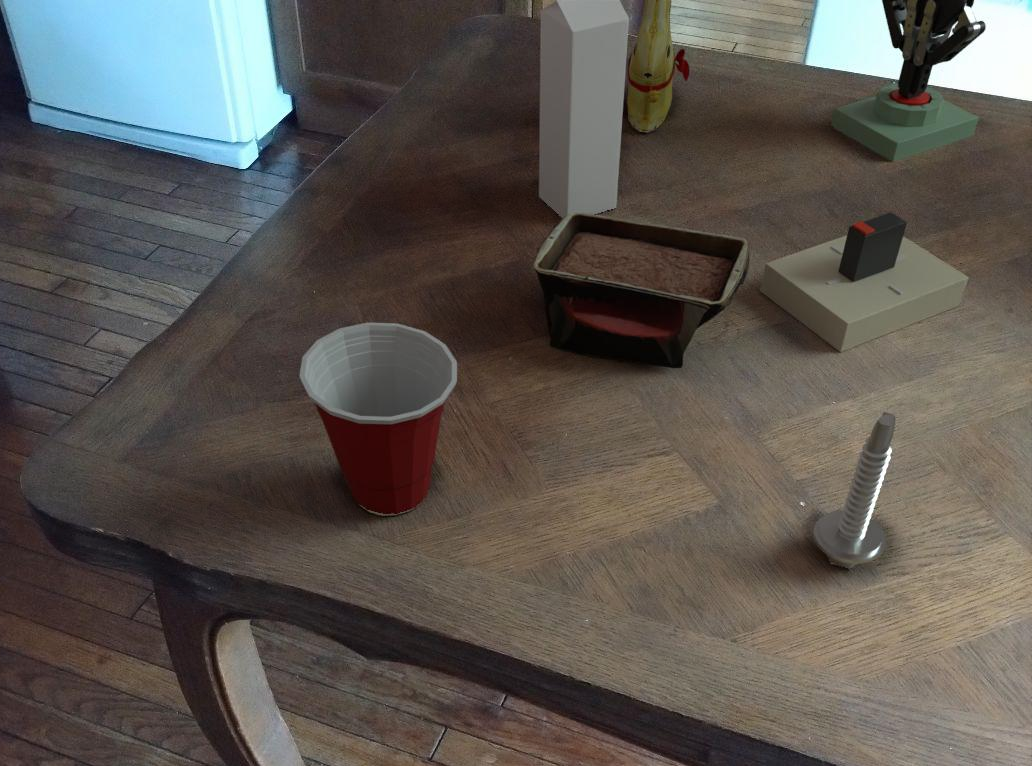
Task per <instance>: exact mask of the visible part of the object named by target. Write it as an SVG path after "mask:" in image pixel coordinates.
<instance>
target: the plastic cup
mask: <svg viewBox="0 0 1032 766" xmlns="http://www.w3.org/2000/svg"><path fill="white" fill-rule="evenodd" d="M299 380H300V381H301V383H302V385H303V387H304V389H305V392H306V393H307V395H308V398H309V400H311V402H313V403H314V405H315V407H316V410H317V413H318V415H319V417H320V418H321V422H322V423H323V426H324V429H325V431H326V434H327V436H328V440H329V441H330V444H331V447H332V449H333V452H334V456H335V458H336V460H337V463H338V466H339V468H340V470H341V472H342V474H343V476H344V478H345V481H346V482H347V486H348V488H349V491H350V493H351V495H352V497H353V499H354V501H355V502H356V503H357V502H358V503H359V504H360V505H362V506H363V507H365V508H366V509H367V510H371V511H374V512H378V513H383V514H391V513H394V514H398V513H400V512H404V511H407V510H410V509H412V508H414V507H416V506H417V505H418V504H420V503H421V502H422V501H423V499H424V498H425V499H426V497H427V496H428V491H429V490H430V488H431V487H430V486H431V478H432V477H431V476H432V470H433V469H432V467H433V465H434V464H435V457H436V451H437V443H438V438H439V432H440V425H441V417H442V413H443V411H444V407H445V403H446V401H447V400H448V397H449V396H450V394H451V393H452V392H453V390H454V388H455V387H456V385H457V383H458V362H457V360H456V358H455V356H454V355H453V354H452V352H451V350H450V349H449V348H448V346H447V344H445V343H444V342H442V341H440V340H439V339H438V338H436V337H435V336H433V335H431V334H430V333H428V332H427V331H425V330H422V329H420V328H419V329H418V328H415V327H411V326H408V325H405V324H401V323H394V322H393V323H390V322H365V323H360V324H354V325H350V326H349V325H348V326H344V327H340V328H338V329H336V330H334V331H332V332H330V333H328V334H326V335H324V336H322V337H319V338H318V339H317V340H316V341H314V343H313V344H312V345H311V347H310V348H309V349H308V350H307V351H306V352H305V354H304V355H303V356H302V358H301V364H300V369H299ZM426 495H427V496H426ZM425 496H426V497H425ZM425 499H424V500H425ZM423 502H424V501H423ZM423 502H422V503H423ZM358 503H357V504H358ZM416 508H417V507H416Z"/></svg>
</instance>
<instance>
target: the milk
mask: <svg viewBox="0 0 1032 766" xmlns="http://www.w3.org/2000/svg"><path fill="white" fill-rule="evenodd" d="M629 22H630V17H629V16H628V14H627V12H626V10H625V8H624V6H623V4H622V3H621V0H555V1H553V2H551V3H550V4H548V5H547V6H544V7H543V8H541V9H540V39H539V40H540V41H539V42H540V45H539V46H540V48H539V49H540V50H539V57H540V58H539V145H538V146H539V150H538V151H539V152H538V153H539V154H538V155H539V156H538V157H539V159H538V162H539V163H538V166H539V167H538V198H539V197H540V198H541V199H542V200H543V201H544V202H545V203H546V204H547V205H546V204H545V203H544V202H543V201H542V200H541V199H540V198H539V199H540V200H541V201H542V202H543V203H544V204H545V205H546V206H547V207H549V206H550V207H551V208H552V209H553V210H554V211H555V212H556V213H557V214H559V215H558V217H560V216H561V217H562V218H564V217H566V216H568V215H569V214H574V213H588V214H596V215H599V214H602V213H601V212H603V213H606V212H608V211H607V210H610V211H612V210H611V209H613V210H615V209H614V208H616V209H617V204H618V203H617V201H618V187H619V186H618V185H619V173H620V171H619V170H620V159H621V158H620V156H621V144H622V142H621V141H622V127H623V126H622V125H623V112H624V99H625V98H624V97H625V85H626V68H627V67H626V66H627V52H628V38H629V24H630V23H629ZM550 207H549V208H550ZM551 208H550V209H551ZM552 209H551V210H552ZM553 210H552V211H553ZM554 211H553V212H554ZM605 211H606V212H605ZM555 212H554V213H555ZM556 213H555V214H556ZM598 213H599V214H598ZM557 214H556V215H557ZM561 217H560V218H561ZM562 218H561V219H562Z"/></svg>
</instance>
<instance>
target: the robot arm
mask: <svg viewBox="0 0 1032 766" xmlns="http://www.w3.org/2000/svg"><path fill="white" fill-rule="evenodd" d="M881 2H882V8H883V11H884V15H885V19H886V24H887V29H888V33H889V37H890V42H891V46H892V48H894V49H895V50H896V49H898V50H899V51H900V52H901V55H902V59H903V62H902V65H901V69H900V73H899V77H898V80H897V84H898V88H899V91H898V93H899V94H900V95H902V96H904V97H906V98H908V99H911V98H915V97H918V96H920V95H921V94H922V93H924V91H925V90H926V88H927V87H928V83H929V80H930V77H931V72H932V69H933V66H936V65H938V64H941V63H947V62H950V61H952V60H953V59H954V58H955V57H956V56H958V55H959V54H960V53H961V52H962V51H964V50H965V49H966V48H967V47H968V46H969V45H971V44H972V43H973V42H974V41H975V40H976V39H978V38H979V37H980V36H981V35H983V34H984V32H985V31H986V27H987V24H986V23H985V21H984V20H978V21H977V19H976V16H975V14H974V12H973V9H972V7H973V6H974V4H975V0H881ZM953 26H954V27H953ZM901 27H902V28H901ZM951 32H952V34H951Z"/></svg>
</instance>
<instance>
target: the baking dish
mask: <svg viewBox="0 0 1032 766" xmlns="http://www.w3.org/2000/svg"><path fill="white" fill-rule="evenodd" d="M750 247H751V246H750V242H749V241H748V239H747V238H744V237H739V236H731V235H727V234H720V233H712V232H707V231H700V230H694V229H686V228H680V227H674V226H673V227H672V226H668V225H663V224H656V223H652V222H651V223H650V222H644V221H640V220H639V221H638V220H630V219H625V218H620V217H613V216H607V215H600V214H596V215H594V214H588V213H574V214H569V215H568V216H566V217H564V218H563V219H562V218H561V219H560V220H559V221H558V222H557V223H555V224H554V225H553V226H552V229H551V230H550V231H549V233H548V235H547V236H545V238H543V240H542V241H541V244H540V246H539V247H537V248H536V256H535V257H534V259H533V262H532V267H533V268H532V269H534V271H535V273H536V275H537V278H538V282H539V285H540V290H541V293H542V297H543V302H544V304H543V305H544V309H545V316H546V317H545V318H546V322H547V329H548V336H549V347H552V348H555V349H557V350H561V351H565V352H570V353H575V354H580V355H585V356H590V357H595V358H602V359H609V360H615V361H621V362H622V361H623V362H626V363H627V362H628V363H635V364H639V365H647V366H655V367H661V368H668V369H669V368H670V369H682V368H683V366H684V354H685V352H686V350H687V348H688V346H689V344H690V342H691V340H692V338H693V337H694V335H695V333H696V331H697V329H699V328H700V327H702V326H704V324H706V323H707V322H709V321H710V320H712V319H713V318H715V317H716V316H717V315H719V314H720V313H721V312H722V311H723V310H725V309H726V308H727V307H728V306H729V305H730V304H731V302H732V300H733V298H734V296H735V295H736V294H737V292H738V290H739V288H740V287H741V286H742V285H744V282H745V280H746V278H747V276H748V272H749V268H750V252H751V251H750V250H751V248H750Z"/></svg>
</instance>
